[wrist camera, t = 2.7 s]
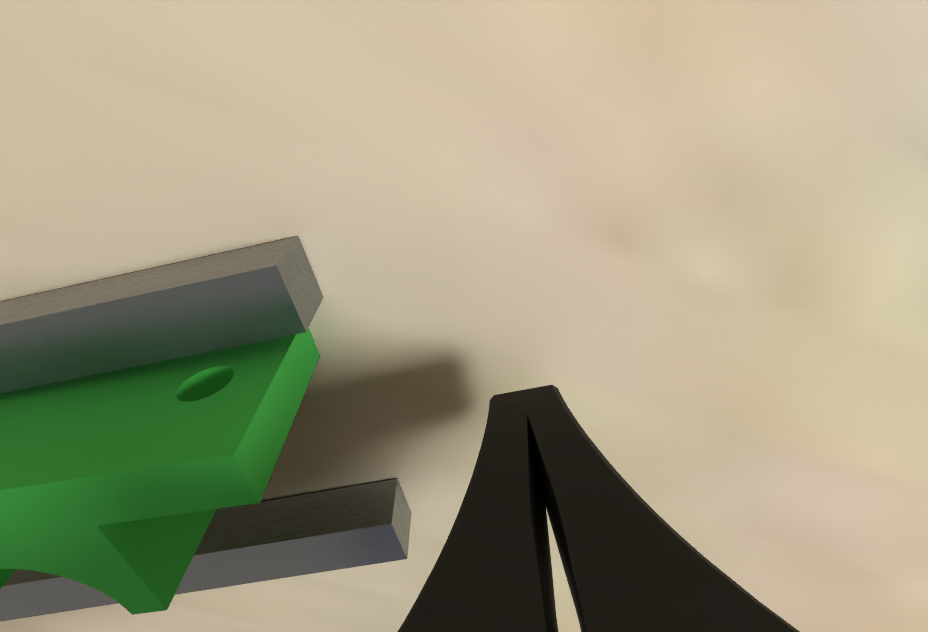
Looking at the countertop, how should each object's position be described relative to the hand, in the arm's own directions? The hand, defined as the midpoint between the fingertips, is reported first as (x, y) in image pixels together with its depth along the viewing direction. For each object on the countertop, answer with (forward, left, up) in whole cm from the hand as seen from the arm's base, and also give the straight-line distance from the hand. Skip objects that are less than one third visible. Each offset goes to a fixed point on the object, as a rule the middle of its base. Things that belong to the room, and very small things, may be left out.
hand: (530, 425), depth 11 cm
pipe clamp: (+1, +10, -2) cm, 11 cm away
